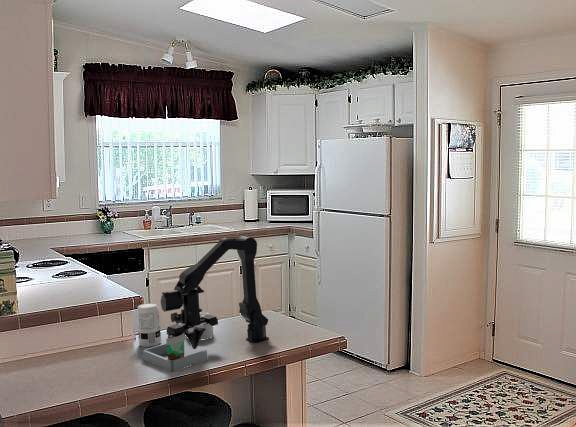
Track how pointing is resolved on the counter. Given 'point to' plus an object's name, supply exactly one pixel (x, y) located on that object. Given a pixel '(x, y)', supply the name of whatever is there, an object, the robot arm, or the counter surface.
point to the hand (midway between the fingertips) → (194, 348)
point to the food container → (175, 346)
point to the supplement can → (148, 325)
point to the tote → (154, 358)
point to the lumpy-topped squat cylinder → (208, 327)
